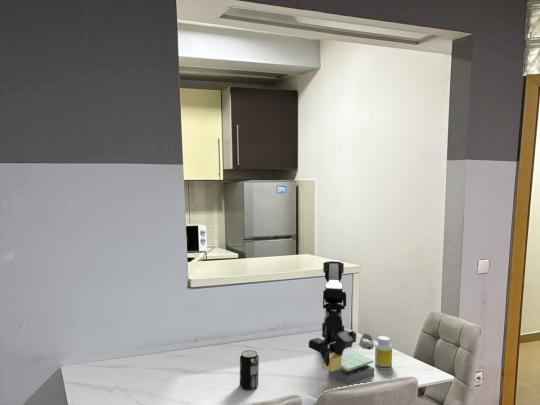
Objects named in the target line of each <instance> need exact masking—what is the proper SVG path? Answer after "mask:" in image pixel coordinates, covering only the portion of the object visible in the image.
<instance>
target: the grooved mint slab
mask: <svg viewBox="0 0 540 405" xmlns="http://www.w3.org/2000/svg"><path fill="white" fill-rule="evenodd" d="M372 363H374V359H371V358H369V357H367V356H366V355H365V356H364V355H363V354H360V353H357V352H355V351H351V352H347V353H344V354H342V356H340V355H338V354H336V353H335V352H333V353H329V365H328V366H326V365H325V362H324V361H323V366H322V367H323V369H325V370H326V371H328V372H329V371H331V372H332V371H335V370H338V369H343V370H345V371H350V370H353V369H356V368H359V367H362V366H364V365H367V364H368V365H370V364H372Z"/></svg>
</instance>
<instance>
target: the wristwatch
mask: <svg viewBox="0 0 540 405" xmlns="http://www.w3.org/2000/svg"><path fill="white" fill-rule="evenodd" d="M360 336H361V337H360V340H359V345H360V346H361V347H362V348H364V349H370V348H369V347H371V346H373V345H374V340H375V339H374V338H373V336H371V335H370V334H368V333H363V332H362V334H361V335H360ZM364 339H365V340H368V341H370V342H366V341H365V340H364ZM371 348H372V347H371Z"/></svg>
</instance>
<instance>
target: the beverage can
mask: <svg viewBox="0 0 540 405" xmlns="http://www.w3.org/2000/svg"><path fill="white" fill-rule="evenodd" d="M259 360H260V359H259V355H258V352H257V351H256V350H250V349H247V350H243V351H241V353H240V357H239V387H240V388H241V389H242V390H244V391H253V390H256V389H257V387H258V386H259V369H260V368H259V364H260V363H259Z"/></svg>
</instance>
